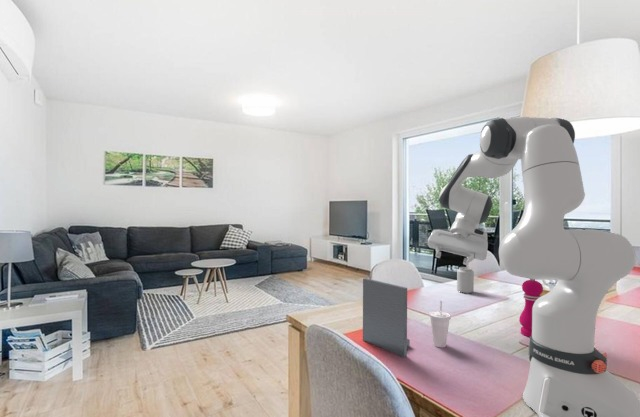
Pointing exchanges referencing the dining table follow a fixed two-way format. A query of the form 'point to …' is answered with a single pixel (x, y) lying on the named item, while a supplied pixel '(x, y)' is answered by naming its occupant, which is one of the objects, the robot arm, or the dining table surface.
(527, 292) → the pepper mill
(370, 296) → the gray menu stand
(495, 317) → the dining table surface
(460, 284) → the can
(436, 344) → the smoothie
